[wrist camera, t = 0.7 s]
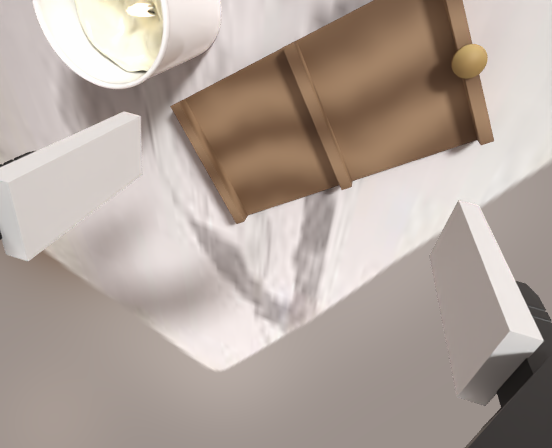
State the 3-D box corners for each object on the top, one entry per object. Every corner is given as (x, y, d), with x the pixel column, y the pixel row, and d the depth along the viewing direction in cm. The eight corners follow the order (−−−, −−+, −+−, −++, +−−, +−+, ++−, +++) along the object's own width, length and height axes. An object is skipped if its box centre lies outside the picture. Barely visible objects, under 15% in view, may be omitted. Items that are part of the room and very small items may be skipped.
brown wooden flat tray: (181, 100, 38) (167, 107, 36) (457, -44, 28) (465, -48, 25) (243, 213, 44) (235, 226, 41) (495, 129, 33) (505, 139, 30)
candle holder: (233, 67, 36) (176, 92, 26) (142, 64, 38) (55, 86, 27) (226, -60, 31) (151, -92, 20) (121, -56, 33) (5, -83, 22)
